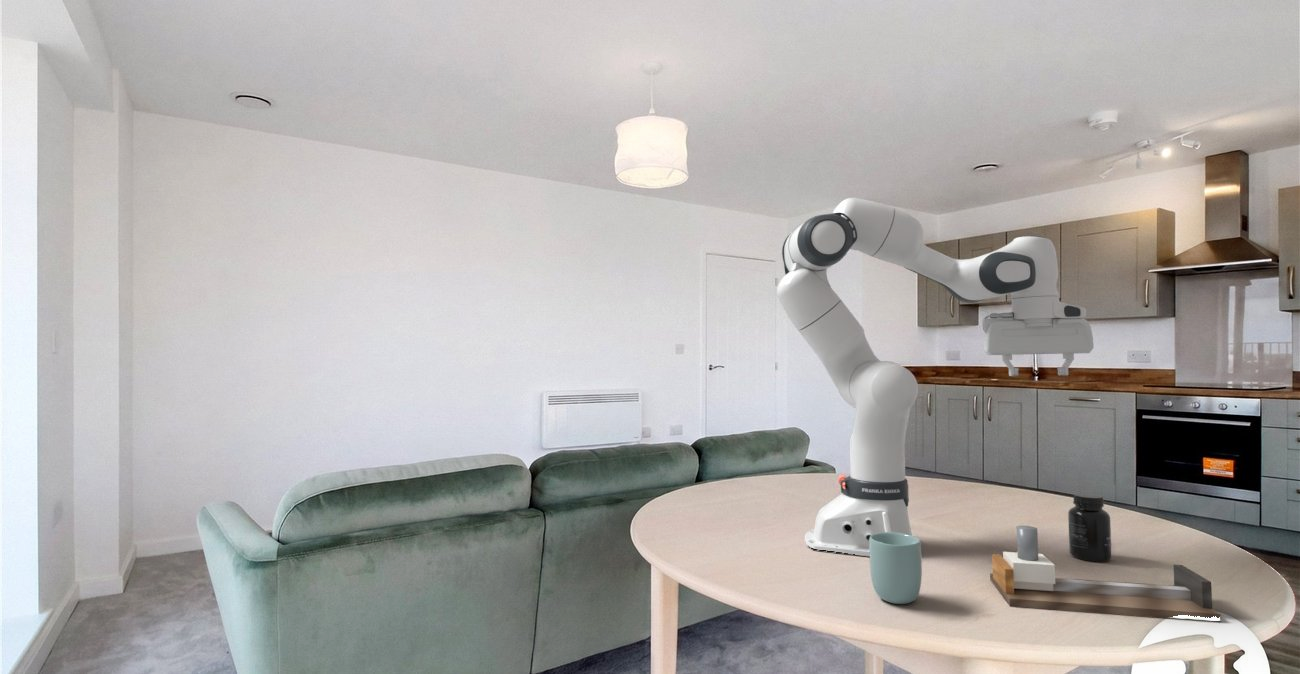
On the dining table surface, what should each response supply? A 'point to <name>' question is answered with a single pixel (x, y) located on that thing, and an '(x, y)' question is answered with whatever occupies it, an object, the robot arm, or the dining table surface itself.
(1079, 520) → the supplement bottle
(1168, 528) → the dining table surface
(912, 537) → the cup
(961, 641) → the dining table surface
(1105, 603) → the rail track
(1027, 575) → the slider
